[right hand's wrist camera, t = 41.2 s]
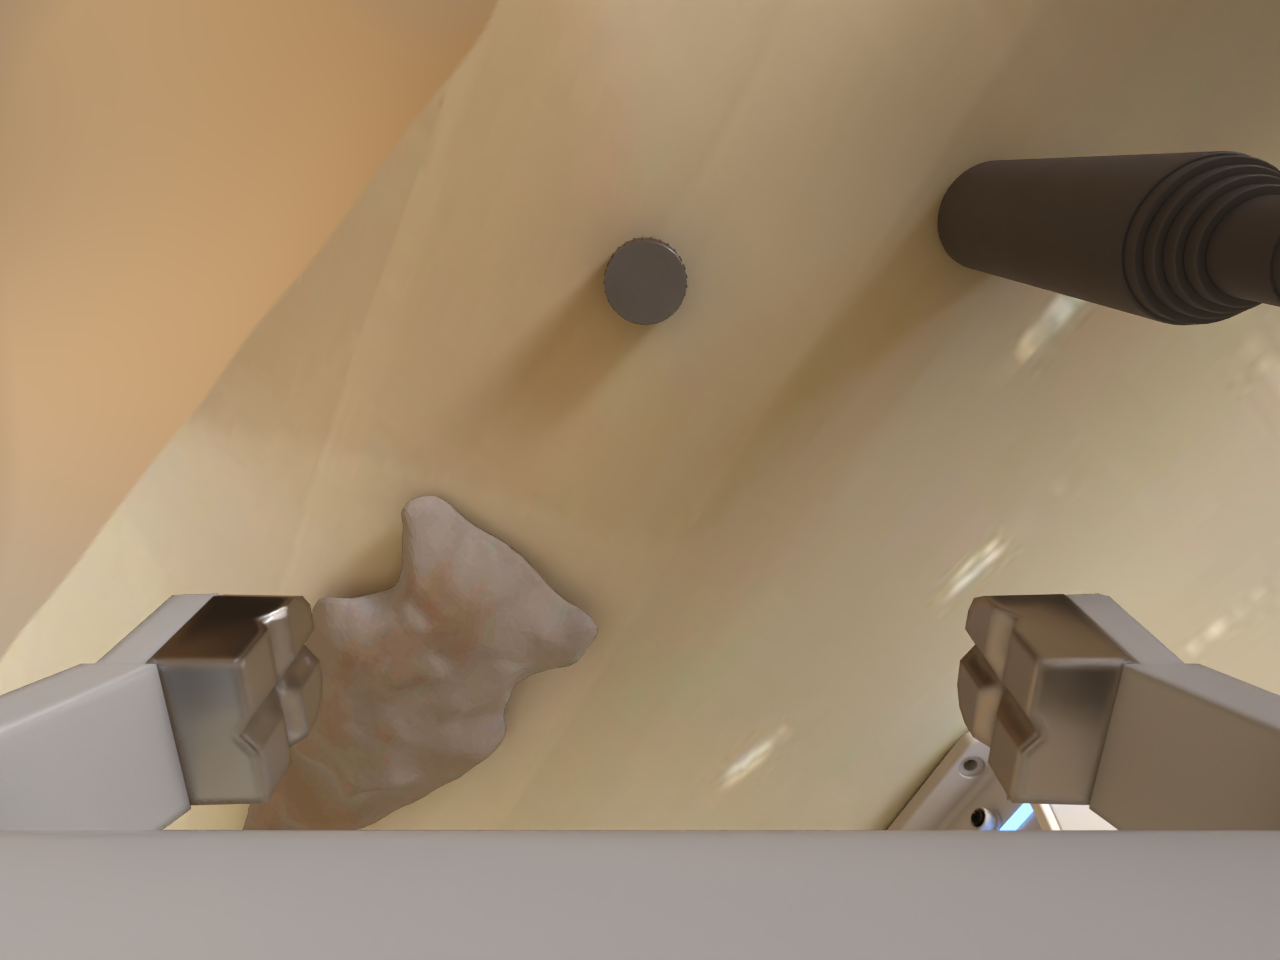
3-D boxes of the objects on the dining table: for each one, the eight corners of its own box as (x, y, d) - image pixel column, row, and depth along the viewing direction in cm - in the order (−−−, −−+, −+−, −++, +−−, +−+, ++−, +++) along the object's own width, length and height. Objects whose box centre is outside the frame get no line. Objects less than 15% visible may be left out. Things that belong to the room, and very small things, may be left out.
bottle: (1062, 215, 41) (1490, 256, 21) (979, 290, 43) (1300, 400, 22) (1000, 136, 40) (1388, 95, 19) (915, 216, 41) (1193, 258, 21)
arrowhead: (608, 658, 45) (307, 969, 52) (612, 615, 50) (336, 906, 57) (399, 500, 42) (111, 852, 49) (424, 470, 47) (159, 795, 54)
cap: (659, 220, 42) (659, 222, 39) (700, 291, 43) (703, 297, 41) (589, 264, 42) (587, 269, 40) (632, 333, 44) (632, 341, 41)
